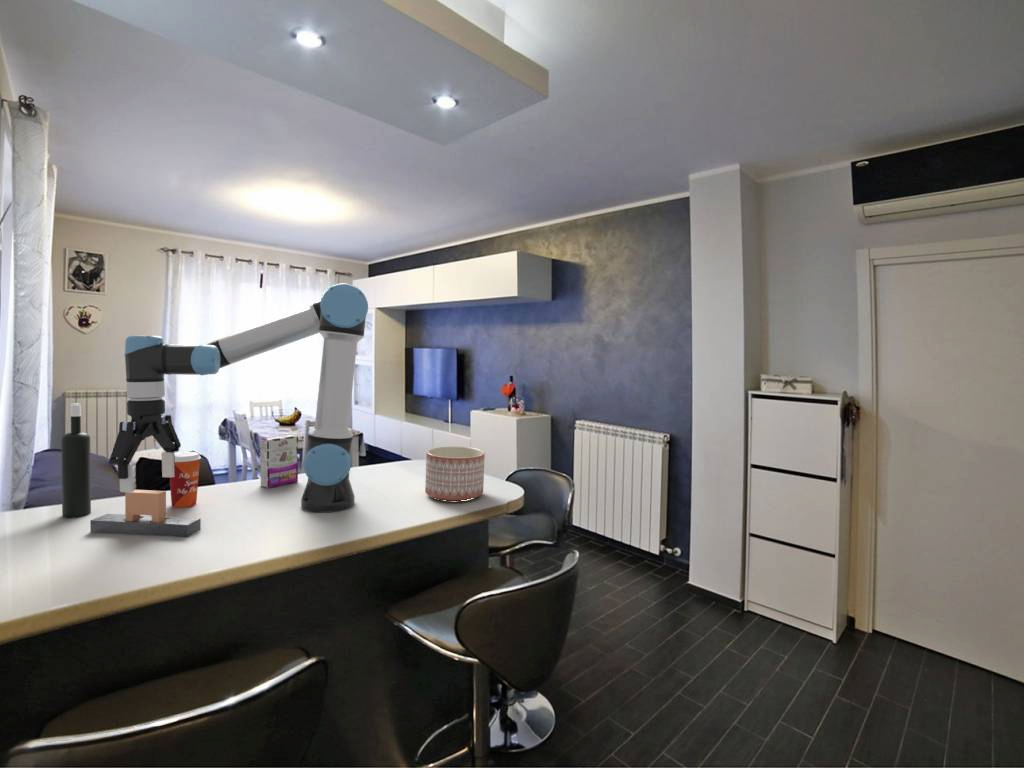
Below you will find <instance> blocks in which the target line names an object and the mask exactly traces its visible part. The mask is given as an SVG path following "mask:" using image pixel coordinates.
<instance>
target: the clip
mask: <svg viewBox="0 0 1024 768" xmlns="http://www.w3.org/2000/svg"><path fill="white" fill-rule="evenodd" d="M124 495H125V496H124V497H125V498H124V500H125V501H124V504H125V506H124V507H125V508H124V509H125V511H124V513H125V514H124V515H125V521H136V520H138V519H140V515H144V516H152V522H158V523H160V522H163V521H165V520H166V517H167V490H154V489H153V490H151V489H150V490H148V489H134V491H133V492H124Z"/></svg>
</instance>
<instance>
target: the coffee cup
mask: <svg viewBox="0 0 1024 768" xmlns="http://www.w3.org/2000/svg"><path fill="white" fill-rule="evenodd" d="M174 455H175V457H174V458H175V462H174V476H175V477H169V487H170V488H169V489H170V502H171V503H170V504H171V507H172V508H174V509H184V508H190V507H194V506H196V504H197V500H198V499H197V498H198V488H199V487H198V486H199V475H200V473H199V471H200V461H201V459H202V457H201V455H200V453H199V452H198V451H197V452H196V451H180V452H179V451H178V452H174Z"/></svg>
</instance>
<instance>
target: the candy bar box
mask: <svg viewBox="0 0 1024 768" xmlns="http://www.w3.org/2000/svg"><path fill="white" fill-rule="evenodd" d="M298 436H299V435H296V434H295V435H294V434H283V435H277V436H271V437H270V436H269V437H264V438H263V437H261V438H260V439H259V441H260V446H259V447H260V448H259V449H260V454H259V455H260V463H259V464H260V486H261V487H262V488H263V487H264V488H267V489H271V488H276V487H280V486H285V485H288V484H293V483H298V481H299V479H298V478H299V469H298V467H299V464H298V463H299V461H298V460H299V459H298V457H299V456H298V455H299V451H298V449H299V447H298V446H299V442H298V440H299V439H298V438H299V437H298Z"/></svg>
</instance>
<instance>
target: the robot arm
mask: <svg viewBox="0 0 1024 768" xmlns="http://www.w3.org/2000/svg"><path fill="white" fill-rule="evenodd" d="M367 299H368V298H367V297H366V295H365V293H364V292H363V291H362V290H361V289H360V288H358V287H356V286H355V285H352V284H350V283H336V284H334V285H331V286H330V287H328V288H327V289H326V290H325V291H324V292H323V294H322V295H321V298H320V299H319V300H317V301H314V302H311V303H310V305H309V307H308V308H306V309H302V310H300V311H298V312H294V313H290V314H289V315H284V316H282V317H279V318H277V319H274V320H271V321H268V322H265V323H262V324H259V325H256V326H253V327H250V328H247V329H244V330H241V331H239V332H236V333H232V334H230V335H228V336H227V335H226V336H224V337H222V338H219V339H216V340H215V339H214V340H213V341H209V342H207V343H203V344H168V343H165V342H164V339H163V337H162V336H159V335H129V336H127V337H126V338H125V348H124V362H125V364H124V366H125V382H126V398H128V400H127V401H126V414H127V415H128V416H129V417H131V418H130V419H131V420H130V421H120V422H119V426H118V427H119V429H118V433H117V436H116V439H115V442H114V446H113V448H112V452H111V454H110V458H109V460H108V463H109V464H110V465H114V466H116V467H117V477H118V479H119V492H120V493H125V492H133V491H134V490H135V489H134V487H135V485H134V482H135V481H134V464H133V463H131V461H132V460H133V458H134V455H135V454H136V452H137V451H138V449H139V446H140V445H141V443H142V441H144V440H146V438H149V437H153V439H154V440H155V441H156V442H157V443H158V445H159V446H160V447H161V448H162V450H163V451H162V452H161V473H162V474H161V475H162V478H170V477H175V476H174V462H175V458H174V457H175V455H174V453H178V452H179V451H180V448H181V445H182V444H181V442H180V438H179V437H178V434H177V432H176V430H175V427H174V425H173V421H172V415H171V414H165V413H166V401H165V400H166V399H164V397H165V396H166V391H165V390H166V388H165V375H168V376H169V375H182V376H183V375H185V376H186V375H188V376H189V375H190V376H191V375H197V376H207V375H216V374H217V373H219V370H220V369H221V368H225V367H228V366H230V365H232V364H235V363H238V362H240V361H243V360H247V359H249V358H252V357H254V356H257V355H261V354H264V353H266V352H267V353H268V352H269V351H272V350H274V349H277V348H281V347H283V346H286V345H288V344H289V345H290V344H291V343H294V342H295V343H296V342H297V341H300V340H303V339H306V338H308V337H311V336H314V335H317V334H319V335H321V337H323V347H322V355H321V365H320V366H321V367H320V373H319V374H320V375H319V383H318V384H319V385H318V394H317V401H316V411H315V412H316V413H315V420H314V421H315V422H314V426H313V428H311V429H309V431H308V432H307V440H306V448H305V449H306V450H305V456H304V458H303V465H302V467H303V470H304V473H305V476H306V477H307V482H306V485H305V488H304V491H303V494H302V496H301V501H300V502H301V503H300V507H301V509H302V510H305V511H307V512H312V513H332V512H333V513H334V512H339V511H344V510H347V509H349V508H352V507H354V505H355V501H356V500H355V493H354V490H353V487H352V484H351V481H350V471H351V468H352V460H351V458H352V457H351V456H352V447H353V437H354V435H353V433H352V432H351V431H350V430H349V422H350V411H351V403H352V397H353V396H352V394H353V384H354V375H355V368H356V360H357V359H356V356H357V348H358V347H357V346H358V343H359V342H360V341H361V340H362V339H363V338H364V337H365V330H366V329H365V327H366V322H367V321H366V318H367V314H368V310H369V303H368V300H367Z"/></svg>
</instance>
